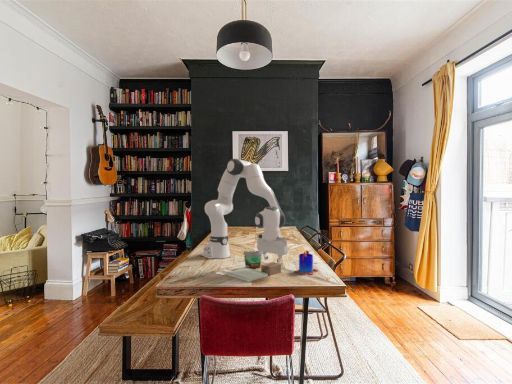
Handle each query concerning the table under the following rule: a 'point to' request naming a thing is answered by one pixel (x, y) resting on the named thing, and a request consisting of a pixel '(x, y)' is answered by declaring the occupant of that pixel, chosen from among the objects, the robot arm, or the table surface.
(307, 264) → the fantasy tower
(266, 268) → the walnut block
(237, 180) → the robot arm
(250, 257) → the food container
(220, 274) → the page
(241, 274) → the building board
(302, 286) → the table surface
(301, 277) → the table surface
